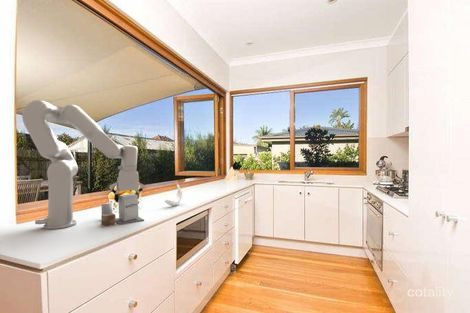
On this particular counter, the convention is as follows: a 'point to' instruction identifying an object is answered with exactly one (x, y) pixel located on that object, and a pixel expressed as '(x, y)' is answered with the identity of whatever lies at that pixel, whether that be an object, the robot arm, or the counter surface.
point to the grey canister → (106, 208)
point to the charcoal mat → (127, 221)
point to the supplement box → (128, 207)
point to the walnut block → (108, 219)
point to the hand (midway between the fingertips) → (126, 201)
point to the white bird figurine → (177, 199)
